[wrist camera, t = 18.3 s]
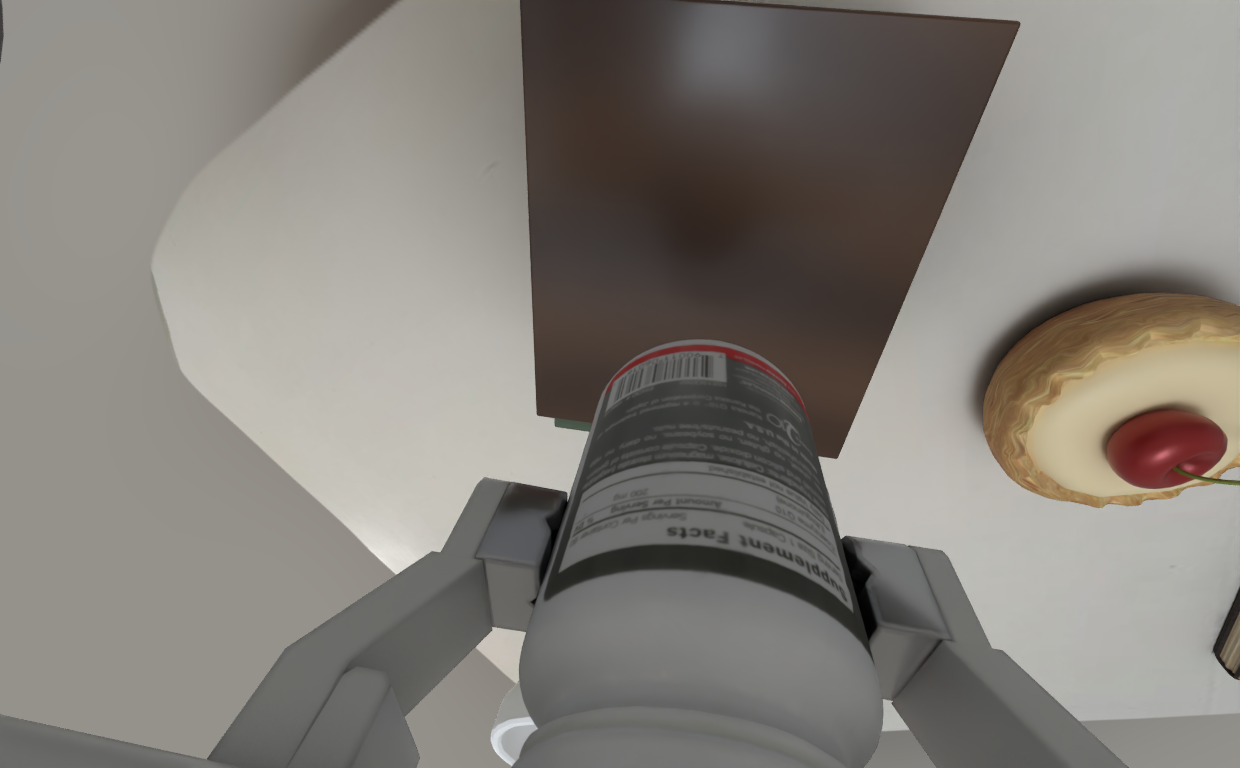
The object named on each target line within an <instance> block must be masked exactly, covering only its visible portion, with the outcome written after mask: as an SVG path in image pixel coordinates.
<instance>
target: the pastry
mask: <svg viewBox="0 0 1240 768" xmlns="http://www.w3.org/2000/svg"><path fill="white" fill-rule="evenodd" d="M983 430H984V434H985V437H986V440H987V442H988V445H989V447H990V450H991V452H992V454H993V456H994V457H995V459H996V460H997V462H998V463H999V464H1000V466H1001V467H1002V469H1003V470H1004V471H1005V473H1006V474H1007V475H1008V476H1009V477H1010V478H1011V479H1012V480H1013V481H1015V482H1016V483H1017V484H1018V485H1020V486H1021V487H1023V488H1025V489H1027V490H1029V491H1031V492H1033V493H1036V494H1038V495H1041V496H1043V497H1046V498H1050V499H1054V500H1059V501H1070V502H1075V503H1080V504H1085V505H1089V506H1092V507H1096V508H1103V507H1104V506H1105V505H1106V504H1119V505H1125V506H1136V505H1141V504H1142V502H1143V501H1145V500H1155V499H1170V498H1173V497H1176V496H1178V495H1179V494H1180V493H1181V491H1183V490H1184V489H1186V488H1189V487H1194V486H1207V485H1211V484H1214V483H1219V484H1228V485H1240V481H1235V480H1222V479H1219V478H1220V476H1221V474H1223V473H1224V472H1225V471H1226V470H1228V469H1231V468H1234V467H1240V306H1238V305H1235V304H1231V303H1228V302H1225V301H1221V300H1217V299H1214V298H1209V297H1205V296H1200V295H1187V294H1174V293H1161V292H1160V293H1137V294H1131V295H1125V296H1118V297H1113V298H1107V299H1101V300H1097V301H1094V302H1090V303H1086V304H1083V305H1080V306H1078V307H1075V308H1073V309H1070V310H1068V311H1065V312H1063V313H1061V314H1059V315H1057V316H1055V317H1053V318H1051V319H1049V320H1047V321H1046V322H1044V323H1043V324H1041V325H1039V326H1038V327H1036V328H1035V329H1033V330H1032V331H1031V332H1029V333H1028V334H1027V335H1025V336H1024V337H1023V338H1021V339H1020V340H1019V341H1018V342H1017V343H1016V344H1015V345H1014V346H1013V347H1012V348H1011V349H1010V350H1009V351H1008V353H1007V354H1006V355H1005V356H1004V357H1003V359H1002V360H1001V361H1000V363H999V364H998V366H997V368H996V370H995V372H994V373H993V376H992V379H991V381H990V384H989V386H988V389H987V391H986V393H985V398H984V405H983Z"/></svg>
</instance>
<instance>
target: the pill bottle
mask: <svg viewBox="0 0 1240 768" xmlns="http://www.w3.org/2000/svg"><path fill="white" fill-rule="evenodd" d="M519 680H520V689H521V693H522V698H523V701H524V704H525V707H526V709H527V711H528V713H529V716H530V717H531V719H532V721H533V722H534V724H535V725H536V727H537V728H538V729H537V730H535V731H534V732H532V733H531V734H530V735H529V737H528V738H527V739H526V741H525V742H524V744H523V746H522V749H521V751H520V755H519V759H518V760H517V761H516V762H515V763H514V764H513V766H512V768H863V767H864V766H865V765H866V764H867V763H868V762H869V760H870V758H871V757H872V755H873V753H874V752H875V750H876V748H877V745H878V742H879V737H880V734H881V730H882V724H883V700H882V695H881V690H880V685H879V681H878V676H877V672H876V667H875V663H874V660H873V656H872V652H871V649H870V645H869V641H868V638H867V634H866V631H865V627H864V623H863V620H862V616H861V613H860V609H859V605H858V602H857V598H856V595H855V591H854V587H853V584H852V580H851V576H850V573H849V569H848V565H847V561H846V558H845V554H844V550H843V546H842V542H841V539H840V535H839V532H838V527H837V522H836V517H835V514H834V511H833V508H832V504H831V501H830V496H829V493H828V491H827V488H826V485H825V481H824V477H823V473H822V470H821V466H820V462H819V458H818V454H817V450H816V447H815V443H814V439H813V434H812V430H811V426H810V422H809V418H808V415H807V413H806V410H805V406H804V403H803V401H802V399H801V397H800V395H799V393H798V392H797V390H796V389H795V387H794V385H793V384H792V383H791V381H790V380H789V379H788V378H787V377H786V376H785V375H784V374H783V373H782V372H781V371H780V370H779V369H778V368H777V367H775V366H774V365H773V364H772V363H770V362H769V361H768V360H766V359H765V358H763V357H761V356H760V355H758V354H756V353H754V352H752V351H750V350H748V349H745V348H743V347H740V346H737V345H734V344H731V343H727V342H722V341H716V340H703V339H694V340H683V341H676V342H671V343H667V344H663V345H660V346H657V347H654V348H652V349H650V350H648V351H645V352H643V353H641V354H640V355H638V356H636V357H635V358H633V359H632V360H630V361H629V362H628V363H627V364H625V365H624V366H623V367H622V368H621V369H620V370H619V371H618V372H617V373H616V374H615V375H614V376H613V378H612V379H611V380H610V382H609V383H608V384H607V386H606V388H605V390H604V391H603V393H602V395H601V398H600V400H599V403H598V406H597V409H596V413H595V416H594V419H593V422H592V424H591V428H590V433H589V436H588V439H587V442H586V445H585V448H584V451H583V455H582V458H581V461H580V464H579V468H578V471H577V474H576V477H575V480H574V483H573V486H572V490H571V493H570V496H569V499H568V502H567V506H566V510H565V512H564V515H563V518H562V521H561V524H560V528H559V530H558V533H557V536H556V539H555V542H554V546H553V549H552V553H551V556H550V559H549V562H548V565H547V568H546V572H545V574H544V577H543V580H542V583H541V586H540V588H539V592H538V595H537V598H536V602H535V605H534V608H533V611H532V614H531V617H530V621H529V624H528V628H527V632H526V635H525V639H524V642H523V646H522V651H521V656H520V663H519Z"/></svg>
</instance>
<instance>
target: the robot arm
mask: <svg viewBox="0 0 1240 768" xmlns="http://www.w3.org/2000/svg"><path fill="white" fill-rule="evenodd" d="M566 506H567V493H566V492H564V491H558V490H553V489H548V488H542V487H537V486H532V485H526V484H521V483H515V482H508V481H502V480H497V479H491V478H486V477H484V478H483V479H482V480H481V481H480V482H479V483H478V484H477V486H476V487H475V489H474V491H473V493H472V495H471V497H470V499H469V500H468V502H467V504H466V506H465V508H464V510H463V512H462V514H461V515H460V517H459V519H458V521H457V523H456V525H455V527H454V528H453V530H452V532H451V534H450V536H449V538H448V540H447V542H446V543H445V545H444V547H443V549H442V551H441V552H434V551H432V552H430V553H429V554H427V555H426V556H424V557H423V558H421V559H420V560H418V561H417V562H415V563H414V564H412V565H411V566H409V567H408V568H406V569H405V570H403V571H402V572H400V573H399V574H397V575H396V576H394V577H393V578H391V579H389V580H388V581H387V582H385V583H384V584H382V585H381V586H379V587H377V588H376V589H374V590H373V591H371V592H370V593H368V594H367V595H365V596H364V597H362V598H361V599H360V600H358V601H357V602H355V603H353V604H352V605H350V606H349V607H347V608H346V609H345V610H343V611H341V612H340V613H338V614H337V615H335V616H334V617H332V618H331V619H329V620H328V621H326V622H325V623H323V624H322V625H320V626H319V627H317V628H316V629H314V630H313V631H311V632H310V633H308V634H307V635H305V636H303V637H302V638H300V639H299V640H297V641H296V642H295V643H293V644H291V645H290V646H288V647H287V648H286V649H285V650H284V651H283V653H282V654H281V655H280V657H279V658H278V660H277V661H276V663H275V664H274V665H273V667H272V668H271V670H270V671H269V672H268V674H267V675H266V676H265V678H264V680H263V681H262V682H261V683H260V685H259V686H258V688H257V689H256V690H255V692H254V693H253V695H252V696H251V698H250V699H249V700H248V702H247V703H246V705H245V706H244V707H243V709H242V710H241V712H240V713H239V714H238V716H237V717H236V719H235V720H234V722H233V723H232V724H231V726H230V727H229V728H228V730H227V731H226V733H225V734H224V736H223V737H222V739H221V740H220V741H219V743H218V744H217V746H216V747H215V748H214V750H213V751H212V752H211V754H210V755H209V757H208V758H207V760H205V759H201V758H196V757H192V756H187V755H183V754H178V753H174V752H169V751H164V750H160V749H156V748H151V747H146V746H142V745H137V744H133V743H128V742H124V741H119V740H115V739H110V738H105V737H101V736H96V735H91V734H87V733H83V732H78V731H74V730H69V729H64V728H60V727H55V726H51V725H46V724H42V723H37V722H32V721H28V720H23V719H18V718H14V717H10V716H5V715H0V768H416V767H417V764H418V762H419V759H420V757H419V753H418V750H417V747H416V745H415V742H414V739H413V737H412V735H411V732H410V730H409V727H408V725H407V722H406V720H405V716H406V715H407V714H408V713H409V712H410V711H411V710H412V709H413V708H414V707H415V706H416V705H417V704H418V703H419V702H420V701H421V700H422V699H423V698H424V697H425V696H426V695H427V694H428V693H429V692H430V691H431V690H432V689H433V688H434V687H435V686H436V685H437V684H438V683H439V682H440V681H441V680H442V679H443V678H444V677H445V676H446V675H447V674H448V673H449V672H451V671H452V669H453V668H455V667H456V666H457V665H458V664H459V663H460V662H461V661H462V660H463V659H464V658H465V657H466V656H467V655H468V654H469V653H470V652H471V651H472V650H473V649H474V648H475V647H476V646H477V645H478V644H479V643H480V642H481V641H482V640H483V639H484V638H485V637H486V636H487V635H488V634H489V633H490V632H491V631H492V627H497V628H504V629H510V630H516V631H523V632H527V628H528V624H529V621H530V617H531V614H532V611H533V608H534V605H535V602H536V598H537V595H538V592H539V588H540V586H541V583H542V580H543V577H544V574H545V572H546V568H547V565H548V562H549V559H550V556H551V553H552V549H553V546H554V542H555V539H556V536H557V533H558V530H559V528H560V524H561V521H562V518H563V515H564V512H565V510H566ZM841 542H842V546H843V550H844V554H845V558H846V561H847V565H848V569H849V573H850V576H851V580H852V584H853V587H854V591H855V595H856V598H857V602H858V605H859V609H860V613H861V616H862V620H863V623H864V627H865V631H866V634H867V638H868V641H869V645H870V649H871V652H872V656H873V660H874V663H875V667H876V672H877V676H878V681H879V685H880V690H881V695H882V699H886V700H891V701H893V702H892V705H893V706H894V708H895V709H896V711H897V712H898V713H899V715H900V716H901V718H902V719H903V720H904V722H905V723H906V725H907V726H908V728H909V729H910V730H911V732H912V733H913V735H914V736H915V737H916V739H917V740H918V742H919V743H920V744H921V746H922V747H923V749H924V750H925V752H926V753H927V755H928V756H929V757H930V759H931V760H932V762H933V763H934V765H935V766H936V767H937V768H1129V767H1128V766H1127V765H1125V764H1124V763H1123V762H1122V761H1121V760H1120V759H1119V758H1118V757H1117V756H1116V755H1115V754H1114V753H1112V752H1111V751H1110V750H1109V749H1108V748H1107V747H1106V746H1105V745H1104V744H1103V743H1102V742H1101V741H1099V740H1098V739H1097V738H1096V737H1095V736H1094V735H1093V734H1092V733H1091V732H1090V731H1089V730H1088V729H1087V728H1086V727H1085V726H1083V725H1082V724H1081V723H1080V722H1079V721H1078V720H1077V719H1076V718H1075V717H1074V716H1073V715H1072V714H1071V713H1069V712H1068V711H1067V710H1066V709H1065V708H1064V707H1063V706H1062V705H1061V704H1060V703H1059V702H1058V701H1057V700H1055V699H1054V698H1053V697H1052V696H1051V695H1050V694H1049V693H1048V692H1047V691H1046V690H1045V689H1044V688H1043V687H1041V686H1040V685H1039V684H1038V683H1037V682H1036V681H1035V680H1034V679H1033V678H1032V677H1031V676H1030V675H1029V674H1027V673H1026V672H1025V671H1024V670H1023V669H1022V668H1021V667H1020V666H1019V665H1018V664H1017V663H1016V662H1015V661H1013V660H1012V659H1011V658H1010V657H1009V656H1008V655H1007V654H1006V653H1005V652H1004V651H1003V650H998V649H993V648H992V647H991V645H990V643H989V641H988V639H987V637H986V635H985V633H984V631H983V628H982V626H981V624H980V622H979V620H978V618H977V616H976V614H975V612H974V610H973V608H972V605H971V603H970V601H969V599H968V597H967V595H966V593H965V591H964V589H963V587H962V585H961V582H960V580H959V578H958V576H957V574H956V572H955V570H954V568H953V566H952V564H951V562H950V560H949V558H948V556H947V555H946V554H945V553H944V552H943V551H942V550H936V549H929V548H923V547H916V546H910V545H909V546H907V545H905V544H899V543H892V542H885V541H878V540H872V539H865V538H858V537H851V536H845V537H844V538H842V539H841Z"/></svg>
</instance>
